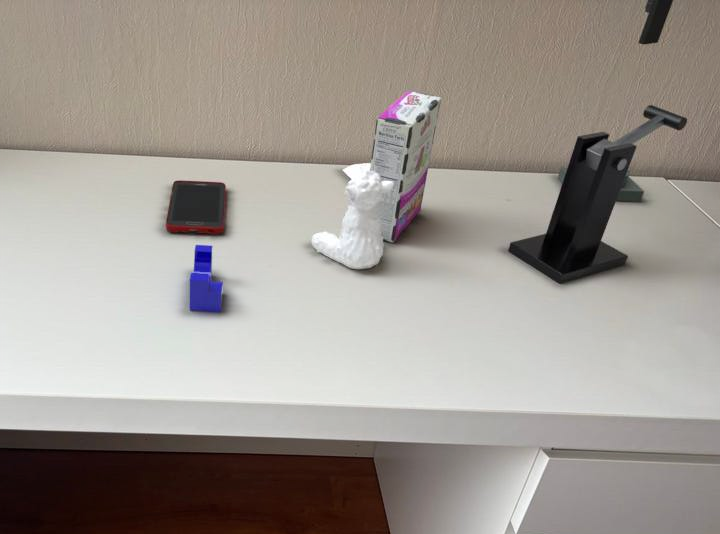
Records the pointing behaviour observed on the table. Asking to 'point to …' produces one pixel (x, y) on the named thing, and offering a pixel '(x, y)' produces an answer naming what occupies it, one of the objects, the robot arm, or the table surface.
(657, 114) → the lever
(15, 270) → the table surface
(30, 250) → the table surface
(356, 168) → the white flat piece
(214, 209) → the cell phone
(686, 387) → the table surface
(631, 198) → the housing
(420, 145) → the candy bar box
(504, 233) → the table surface
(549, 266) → the bracket
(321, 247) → the sitting furry creature
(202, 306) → the cable holder
